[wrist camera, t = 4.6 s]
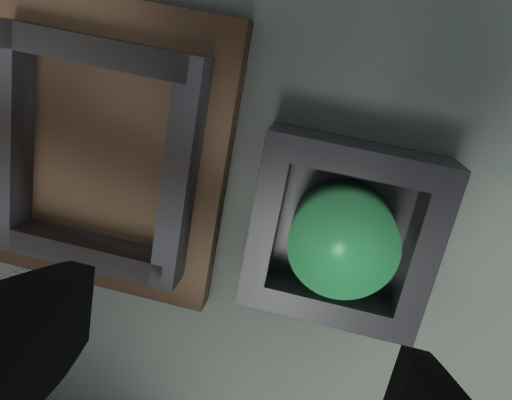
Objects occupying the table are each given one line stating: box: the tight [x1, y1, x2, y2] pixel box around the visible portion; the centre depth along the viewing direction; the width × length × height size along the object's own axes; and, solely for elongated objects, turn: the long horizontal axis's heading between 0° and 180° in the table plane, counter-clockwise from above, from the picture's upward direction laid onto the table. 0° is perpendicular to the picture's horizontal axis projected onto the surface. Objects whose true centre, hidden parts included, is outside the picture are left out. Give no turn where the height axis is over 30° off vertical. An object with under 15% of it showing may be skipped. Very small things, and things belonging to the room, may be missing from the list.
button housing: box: [235, 122, 471, 348], centre depth 18 cm, size 7×7×2 cm
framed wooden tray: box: [0, 0, 253, 312], centre depth 19 cm, size 12×10×2 cm
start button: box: [287, 179, 402, 300], centre depth 18 cm, size 4×4×2 cm
